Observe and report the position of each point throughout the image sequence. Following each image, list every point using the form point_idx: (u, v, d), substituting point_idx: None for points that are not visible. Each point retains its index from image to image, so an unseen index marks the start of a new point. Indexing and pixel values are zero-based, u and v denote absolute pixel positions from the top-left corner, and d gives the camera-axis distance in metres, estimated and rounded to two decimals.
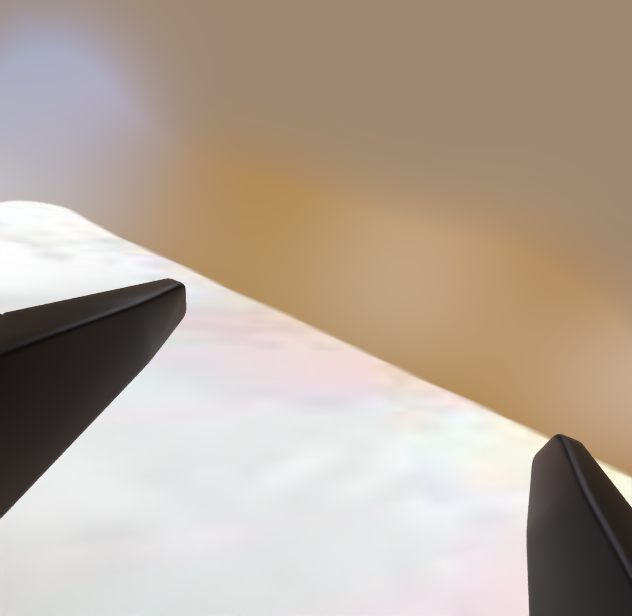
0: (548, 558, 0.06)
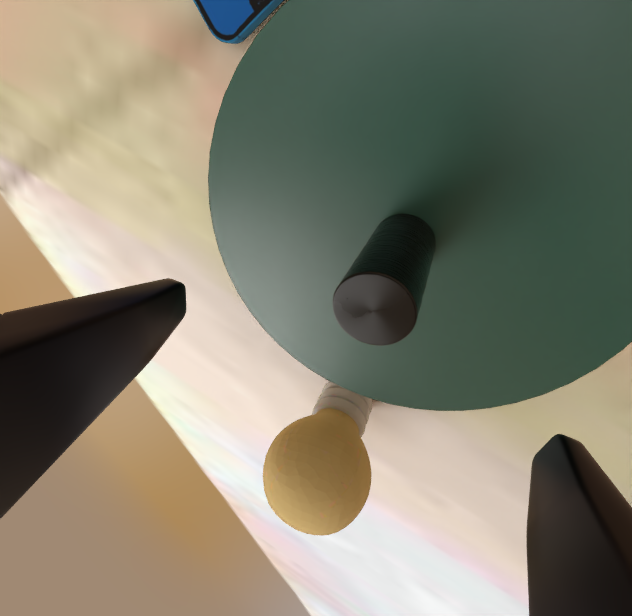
0: (548, 558, 0.06)
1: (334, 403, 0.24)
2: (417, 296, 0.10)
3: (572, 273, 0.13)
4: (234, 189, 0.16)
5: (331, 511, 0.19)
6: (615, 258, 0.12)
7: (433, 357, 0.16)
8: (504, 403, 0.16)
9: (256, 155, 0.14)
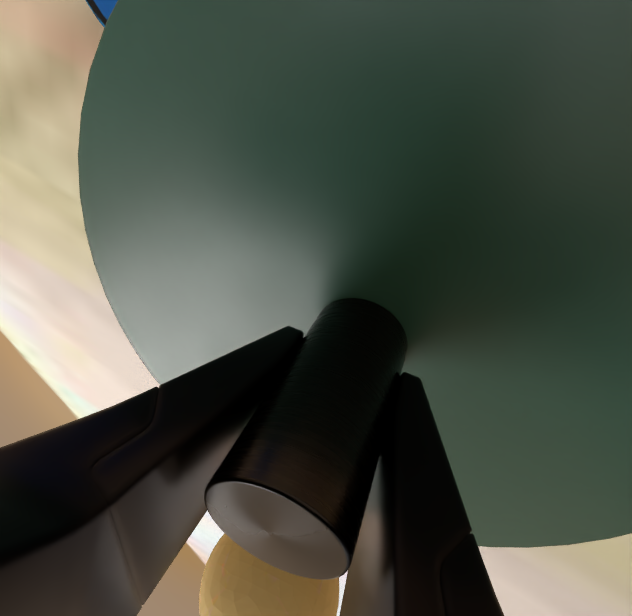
0: None
1: None
2: (352, 516, 0.05)
3: (625, 404, 0.08)
4: (121, 248, 0.11)
5: None
6: None
7: None
8: (512, 545, 0.11)
9: (140, 203, 0.10)
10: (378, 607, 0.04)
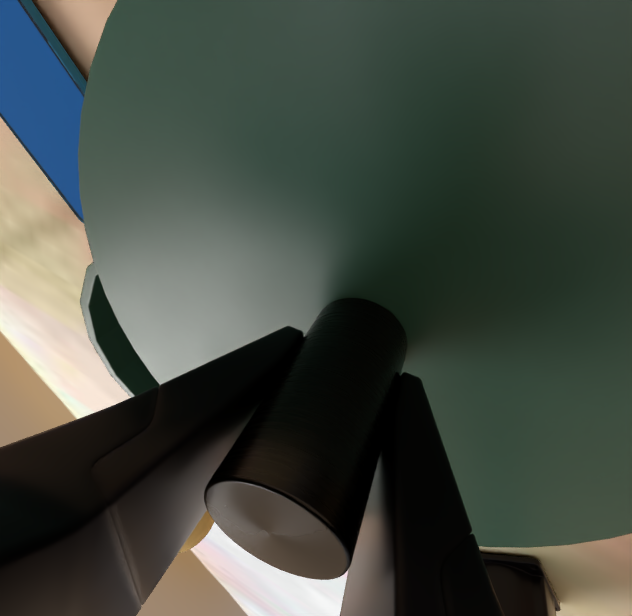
0: None
1: None
2: (352, 516, 0.05)
3: (625, 404, 0.08)
4: (121, 247, 0.11)
5: None
6: None
7: None
8: (512, 545, 0.11)
9: (140, 203, 0.10)
10: (378, 607, 0.04)
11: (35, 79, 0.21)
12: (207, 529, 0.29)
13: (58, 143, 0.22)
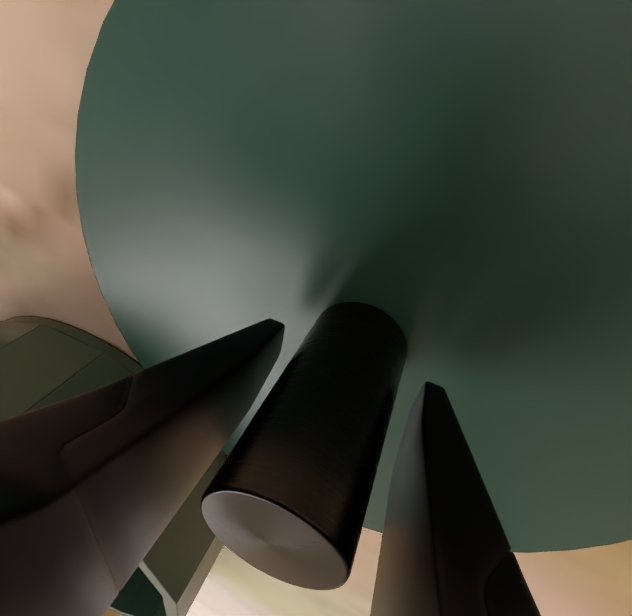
0: (397, 489, 0.07)
1: None
2: (351, 527, 0.05)
3: (628, 409, 0.08)
4: (118, 250, 0.11)
5: None
6: None
7: None
8: (512, 550, 0.11)
9: (137, 205, 0.10)
10: None
11: None
12: None
13: None
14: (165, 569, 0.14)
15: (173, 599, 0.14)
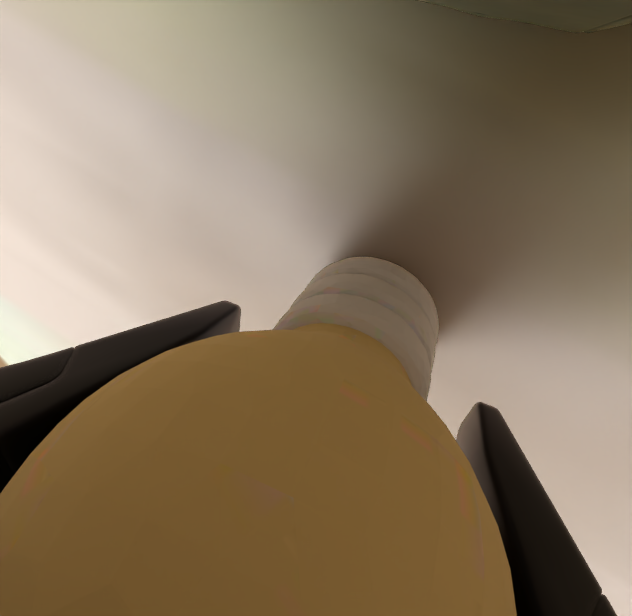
0: None
1: (332, 307, 0.07)
2: None
3: None
4: None
5: None
6: None
7: None
8: None
9: None
10: None
11: None
12: None
13: None
14: None
15: None
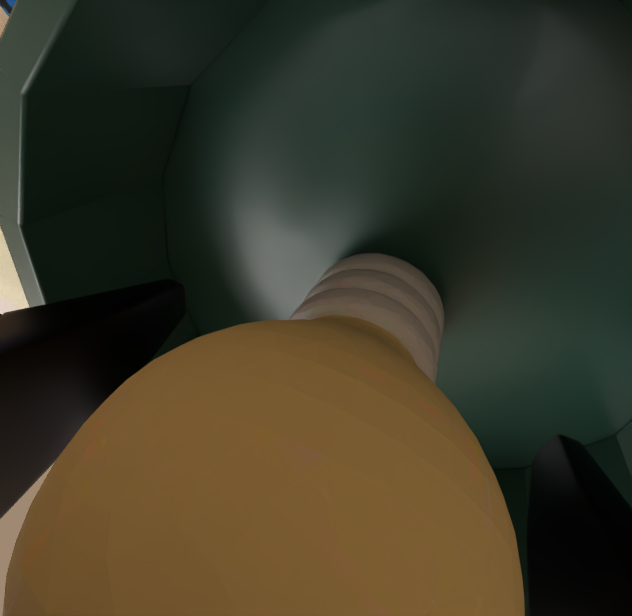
0: (548, 558, 0.06)
1: (344, 299, 0.08)
2: None
3: None
4: None
5: None
6: None
7: None
8: None
9: None
10: None
11: None
12: None
13: None
14: None
15: None
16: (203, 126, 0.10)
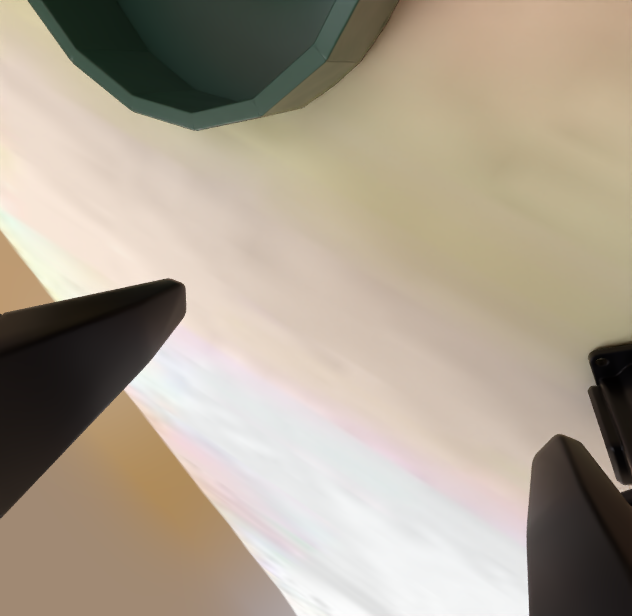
0: (548, 558, 0.06)
1: None
2: None
3: None
4: None
5: None
6: None
7: None
8: None
9: None
10: None
11: None
12: None
13: None
14: None
15: None
16: None
